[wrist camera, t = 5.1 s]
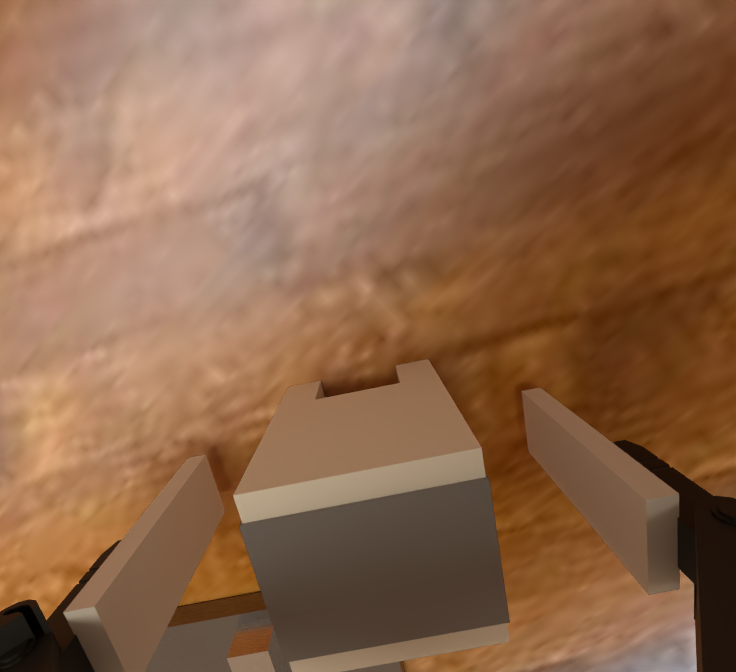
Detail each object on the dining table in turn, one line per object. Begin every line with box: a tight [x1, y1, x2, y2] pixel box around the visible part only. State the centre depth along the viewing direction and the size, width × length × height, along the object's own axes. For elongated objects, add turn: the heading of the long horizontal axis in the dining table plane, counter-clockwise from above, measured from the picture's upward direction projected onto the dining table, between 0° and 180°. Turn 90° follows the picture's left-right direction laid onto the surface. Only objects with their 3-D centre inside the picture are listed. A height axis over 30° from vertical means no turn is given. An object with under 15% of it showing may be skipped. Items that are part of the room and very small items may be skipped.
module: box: [233, 359, 510, 672], centre depth 13 cm, size 6×6×7 cm
